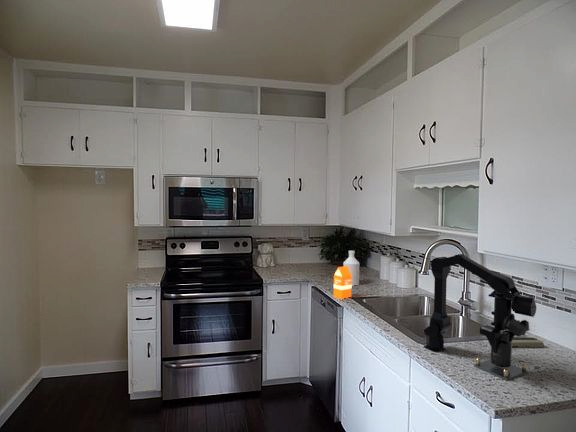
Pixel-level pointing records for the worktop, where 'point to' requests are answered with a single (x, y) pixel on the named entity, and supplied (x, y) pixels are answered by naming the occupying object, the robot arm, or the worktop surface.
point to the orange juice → (342, 283)
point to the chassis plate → (501, 369)
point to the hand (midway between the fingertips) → (501, 350)
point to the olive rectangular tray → (527, 342)
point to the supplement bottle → (502, 352)
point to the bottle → (353, 267)
